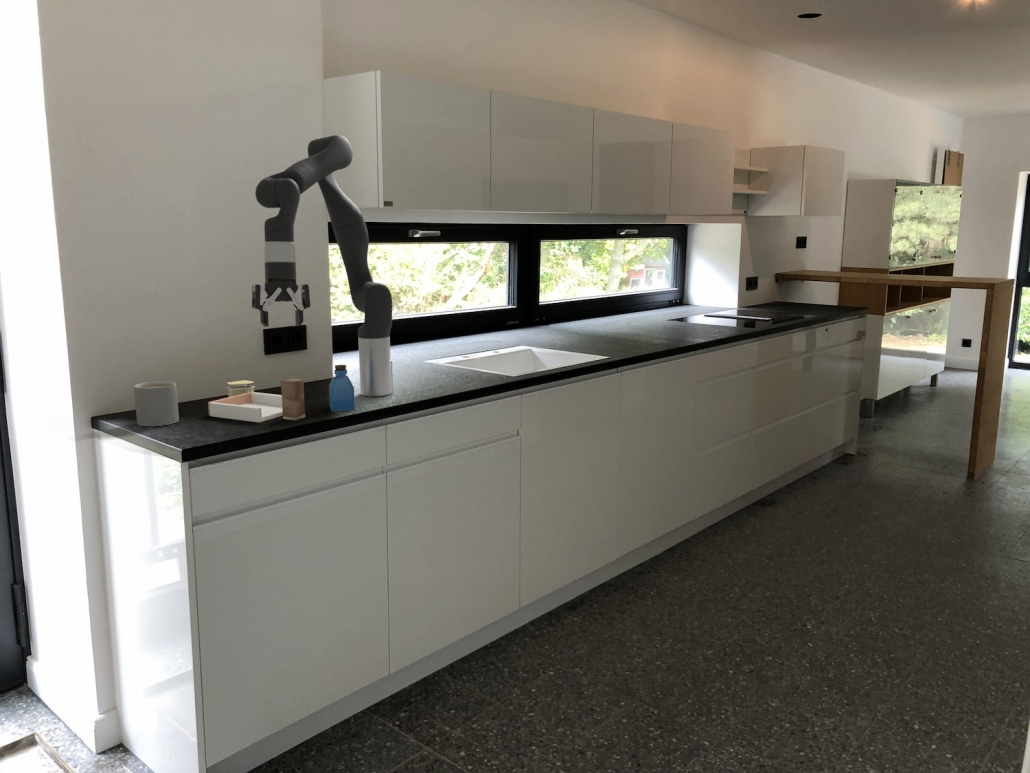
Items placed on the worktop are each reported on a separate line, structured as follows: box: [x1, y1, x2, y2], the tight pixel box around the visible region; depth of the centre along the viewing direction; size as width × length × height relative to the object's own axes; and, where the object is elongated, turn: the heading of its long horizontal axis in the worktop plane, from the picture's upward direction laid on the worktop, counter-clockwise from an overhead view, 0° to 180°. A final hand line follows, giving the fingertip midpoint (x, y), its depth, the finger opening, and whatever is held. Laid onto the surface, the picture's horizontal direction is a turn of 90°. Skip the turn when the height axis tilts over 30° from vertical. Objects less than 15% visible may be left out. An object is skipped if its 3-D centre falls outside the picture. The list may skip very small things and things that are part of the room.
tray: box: [207, 391, 283, 423], centre depth 229 cm, size 16×18×4 cm
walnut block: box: [280, 378, 306, 421], centre depth 222 cm, size 4×4×10 cm
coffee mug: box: [133, 380, 180, 427], centre depth 219 cm, size 13×10×10 cm
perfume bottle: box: [328, 364, 356, 413], centre depth 233 cm, size 6×6×12 cm
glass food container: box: [226, 379, 256, 397], centre depth 246 cm, size 10×9×6 cm
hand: (282, 325), depth 213 cm, fingers open, 8 cm apart
